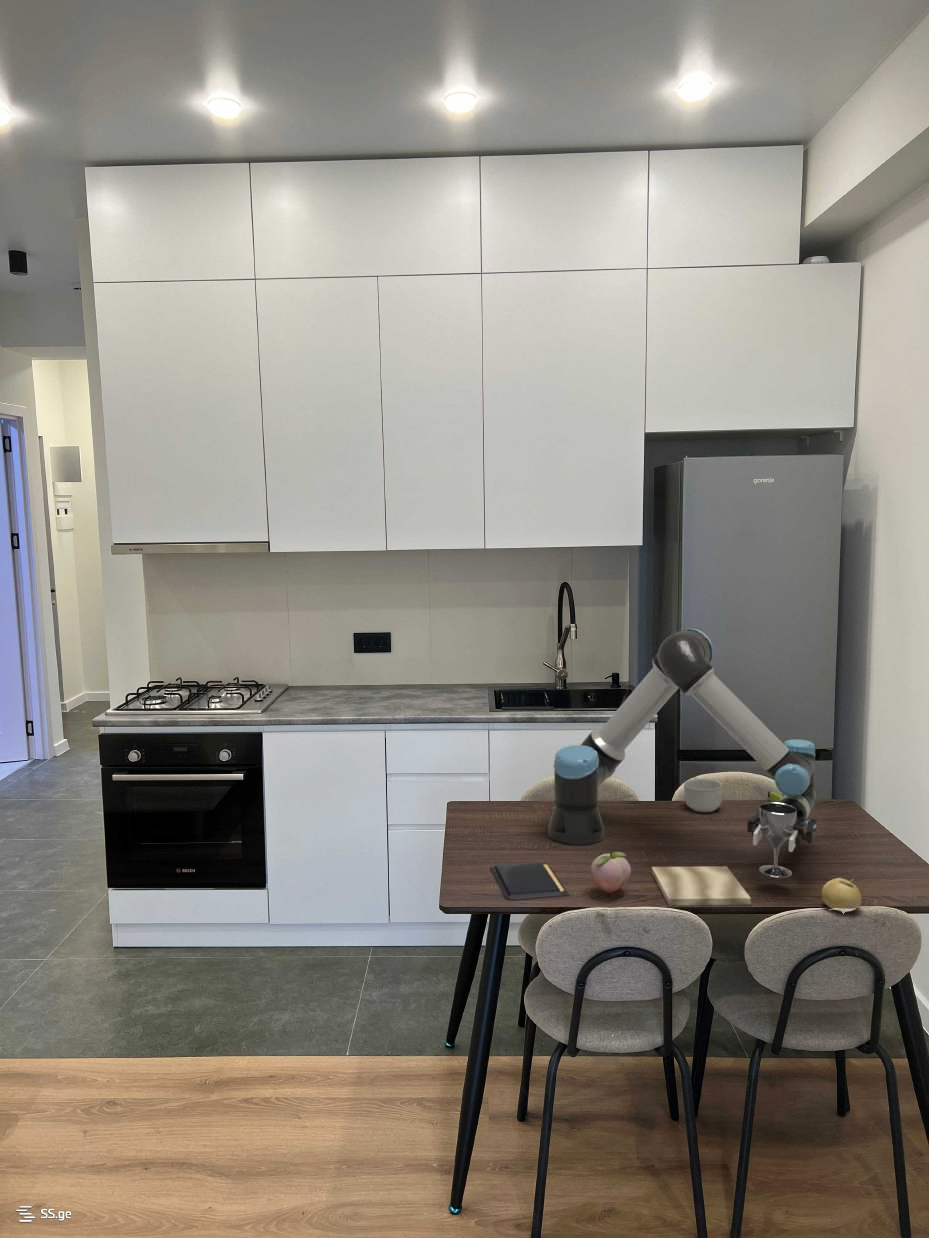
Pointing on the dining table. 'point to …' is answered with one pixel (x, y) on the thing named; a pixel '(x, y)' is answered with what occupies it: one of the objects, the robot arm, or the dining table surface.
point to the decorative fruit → (610, 871)
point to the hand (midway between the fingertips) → (772, 842)
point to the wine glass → (777, 832)
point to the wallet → (527, 881)
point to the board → (700, 886)
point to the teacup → (703, 794)
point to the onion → (841, 894)
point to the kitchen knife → (768, 794)
